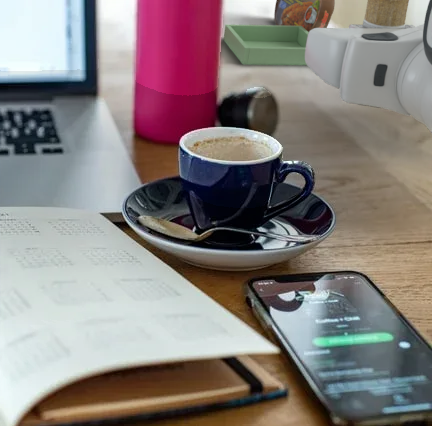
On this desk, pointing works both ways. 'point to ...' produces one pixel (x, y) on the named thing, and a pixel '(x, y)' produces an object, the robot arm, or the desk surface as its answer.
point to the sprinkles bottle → (386, 14)
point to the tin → (304, 13)
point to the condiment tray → (267, 44)
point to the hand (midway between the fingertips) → (378, 31)
